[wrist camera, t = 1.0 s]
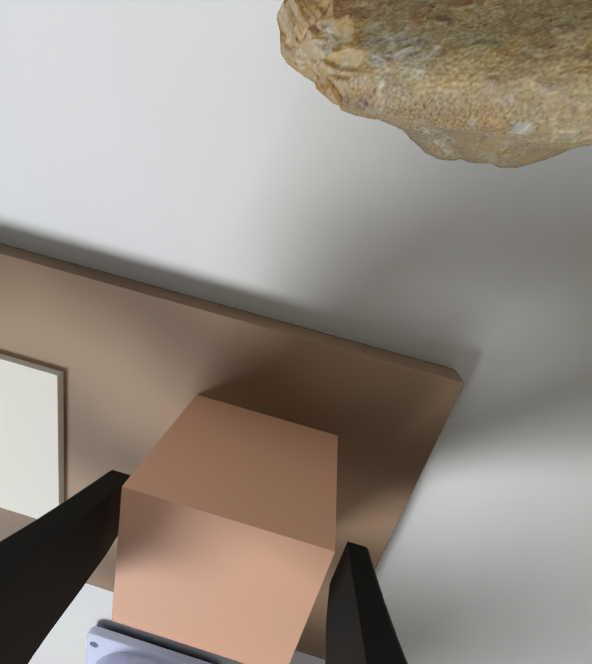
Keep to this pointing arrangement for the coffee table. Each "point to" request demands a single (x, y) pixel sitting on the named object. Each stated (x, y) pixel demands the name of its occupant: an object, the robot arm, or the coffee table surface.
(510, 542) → the coffee table surface
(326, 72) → the fossil
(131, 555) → the salmon pink cube
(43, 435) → the mat
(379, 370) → the post board
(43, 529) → the robot arm
